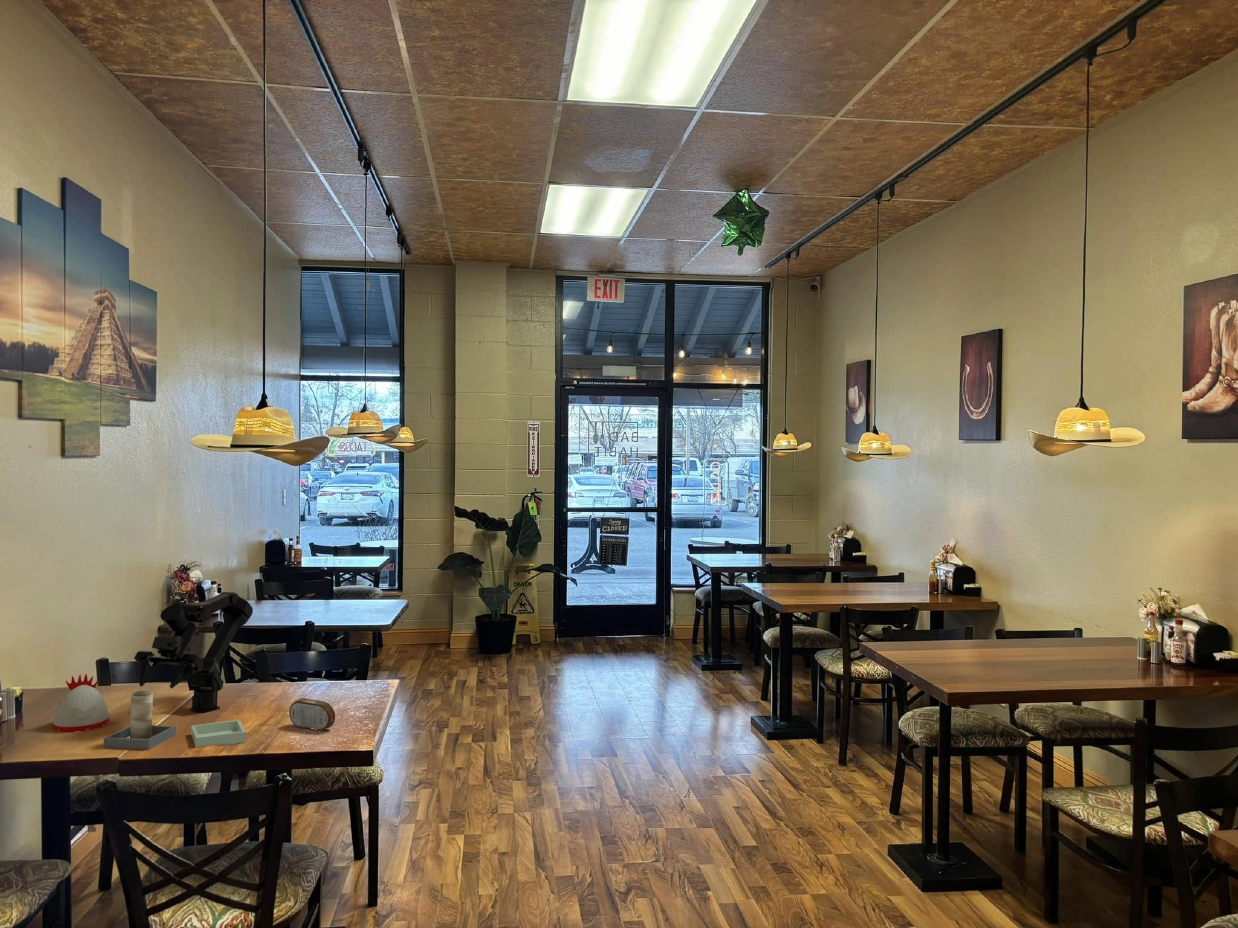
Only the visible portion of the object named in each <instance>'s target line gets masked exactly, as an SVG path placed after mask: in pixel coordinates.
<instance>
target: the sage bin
mask: <svg viewBox="0 0 1238 928" xmlns="http://www.w3.org/2000/svg"><path fill="white" fill-rule="evenodd" d="M190 734H191V738H192V741H193V744H194V746H195V748H201V747H210V746H217V747H221V746H228V745H229V746H230V745H237V744H244V743H247V742H246V741H247V731H246V730H245V727H244V725H243V723H242V722H241V719H233V720H227V721H226V720H225V721H217V722H211V723H200V724H195V725H194V724H193V725H191V729H190Z"/></svg>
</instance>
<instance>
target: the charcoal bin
mask: <svg viewBox="0 0 1238 928" xmlns="http://www.w3.org/2000/svg"><path fill="white" fill-rule="evenodd" d="M176 735H177V726H176V725H159V724H158V725H157V724H152V735H151V738H150V739H132V738H127V737H129V736H130V725H129V726H127V727H124V728H123V729H120V730H117V732H113V733H112V734H110V735H107V736H105V737H104V738H103V748H105V749H124V750H127V749H128V750H147V751H149V750H151V749H153V748H155V747H157V746H158V745H160V744H163V743H164V742H166V741H168V740H170V739H172V738H174V737H175V736H176Z"/></svg>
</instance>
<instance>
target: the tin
mask: <svg viewBox="0 0 1238 928" xmlns="http://www.w3.org/2000/svg"><path fill="white" fill-rule="evenodd" d="M288 710H289V719H290V722H291V723H292V724H293V725H294V726H295V727H297V726H298V727H297V728H299V727H303V728H302V729H305V728H314V729H317V730H323V731H325V730H328V729H330V728H331V727H332V726H333V725H334V724H335V722H336V721H335V720H336V714H335V713H336V712H335V710H334V708H333V706H332V705H331V704H330V703H328V701H324V700H318V699H311V698H304V697H303V698H298V699H297V700H295V701H294V702H293V703H292V704H291V705H290V707H289V709H288ZM327 728H328V729H327ZM317 730H316V731H317Z"/></svg>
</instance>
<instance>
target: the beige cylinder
mask: <svg viewBox="0 0 1238 928" xmlns="http://www.w3.org/2000/svg"><path fill="white" fill-rule="evenodd" d="M130 698H131V700H130V701H131V703H130V722H129V723H130V725H129V726H130V738H132V739H150V738H151V735H152V725H153V705H154V692H152V691H151V690H138V691H135V692H133V693H132V694H131V695H130Z"/></svg>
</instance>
